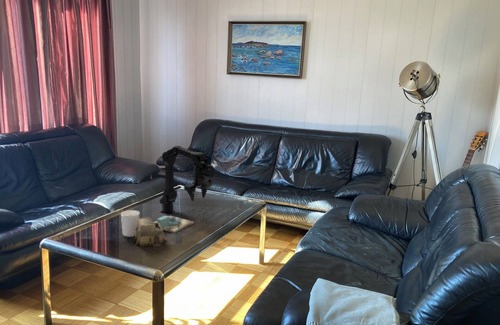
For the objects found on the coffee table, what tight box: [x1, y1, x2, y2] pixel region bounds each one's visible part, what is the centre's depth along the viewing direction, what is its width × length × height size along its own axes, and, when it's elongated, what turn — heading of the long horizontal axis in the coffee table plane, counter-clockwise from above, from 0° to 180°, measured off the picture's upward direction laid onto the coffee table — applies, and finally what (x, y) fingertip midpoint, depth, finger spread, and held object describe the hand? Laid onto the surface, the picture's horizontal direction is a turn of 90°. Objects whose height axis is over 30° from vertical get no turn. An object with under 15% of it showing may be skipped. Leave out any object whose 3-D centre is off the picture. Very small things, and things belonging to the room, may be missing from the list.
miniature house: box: [133, 216, 166, 248], centre depth 209 cm, size 15×14×11 cm
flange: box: [156, 215, 181, 228], centre depth 232 cm, size 16×10×5 cm, turn 151°
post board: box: [153, 215, 195, 234], centre depth 235 cm, size 18×18×5 cm
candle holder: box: [120, 209, 141, 238], centre depth 218 cm, size 10×10×12 cm
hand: (198, 199), depth 240 cm, fingers open, 9 cm apart
